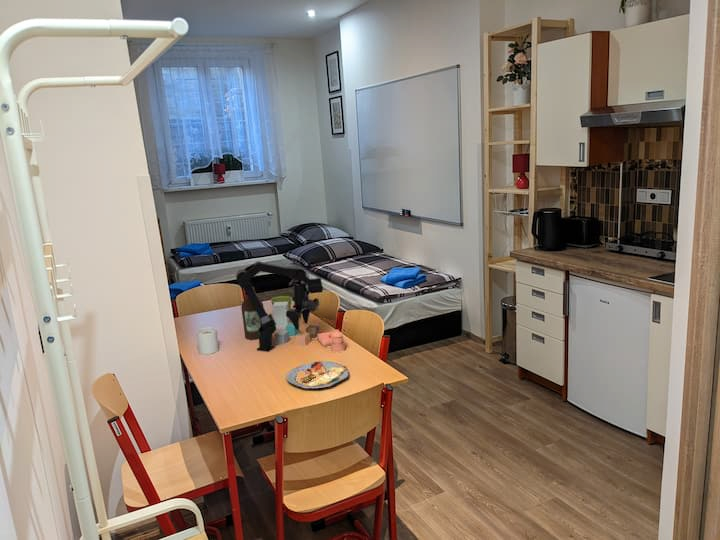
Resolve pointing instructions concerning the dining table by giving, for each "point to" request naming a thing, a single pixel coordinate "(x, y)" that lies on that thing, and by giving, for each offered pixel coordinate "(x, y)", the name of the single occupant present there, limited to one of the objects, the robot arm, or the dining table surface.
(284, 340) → the slate grey block
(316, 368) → the food plate
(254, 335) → the olive oil
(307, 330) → the walnut block
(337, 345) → the pottery
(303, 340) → the terracotta block
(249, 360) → the dining table surface
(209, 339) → the mug
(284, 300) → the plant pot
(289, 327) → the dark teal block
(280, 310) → the supplement box
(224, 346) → the dining table surface
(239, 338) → the dining table surface
